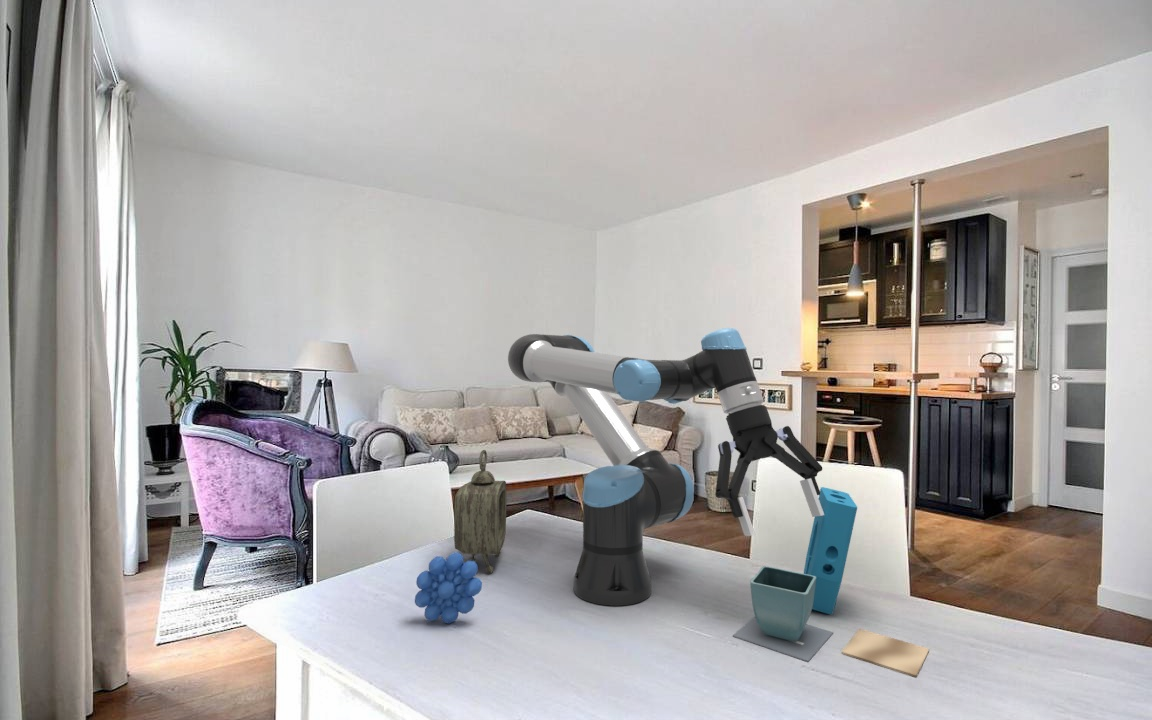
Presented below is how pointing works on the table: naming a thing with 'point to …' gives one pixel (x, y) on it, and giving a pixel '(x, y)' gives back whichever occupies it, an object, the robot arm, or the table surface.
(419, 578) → the blue ball flower
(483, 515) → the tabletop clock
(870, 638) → the cork mat
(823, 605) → the block
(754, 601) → the flower pot
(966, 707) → the table surface
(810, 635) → the tile
